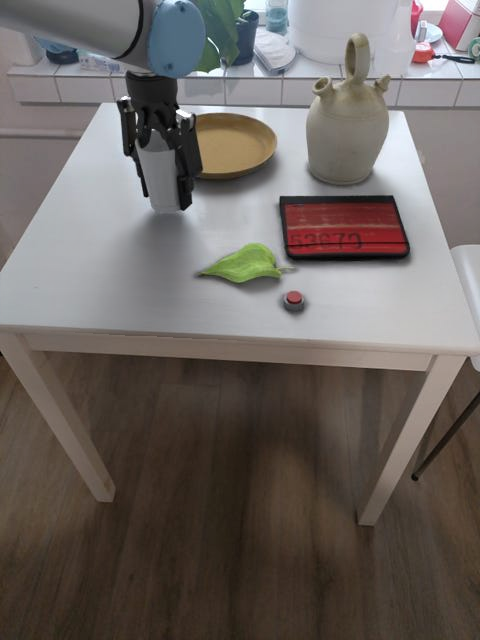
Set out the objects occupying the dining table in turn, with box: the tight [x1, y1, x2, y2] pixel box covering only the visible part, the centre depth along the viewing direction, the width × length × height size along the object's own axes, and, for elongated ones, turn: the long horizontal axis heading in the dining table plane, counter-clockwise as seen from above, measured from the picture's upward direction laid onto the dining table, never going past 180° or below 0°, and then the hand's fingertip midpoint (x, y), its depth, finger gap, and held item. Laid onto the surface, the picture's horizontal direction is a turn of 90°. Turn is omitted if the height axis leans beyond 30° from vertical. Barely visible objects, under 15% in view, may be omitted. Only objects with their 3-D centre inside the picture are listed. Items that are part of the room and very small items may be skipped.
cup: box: [135, 129, 182, 214], centre depth 84 cm, size 8×8×12 cm
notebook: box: [278, 194, 411, 262], centre depth 85 cm, size 16×2×21 cm
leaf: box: [197, 242, 295, 284], centre depth 79 cm, size 9×16×2 cm, turn 92°
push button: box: [283, 290, 305, 311], centre depth 74 cm, size 3×3×2 cm
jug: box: [305, 32, 392, 186], centre depth 90 cm, size 15×16×25 cm
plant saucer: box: [170, 112, 278, 180], centre depth 102 cm, size 24×24×3 cm
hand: (167, 199), depth 88 cm, fingers closed on cup, 7 cm apart
